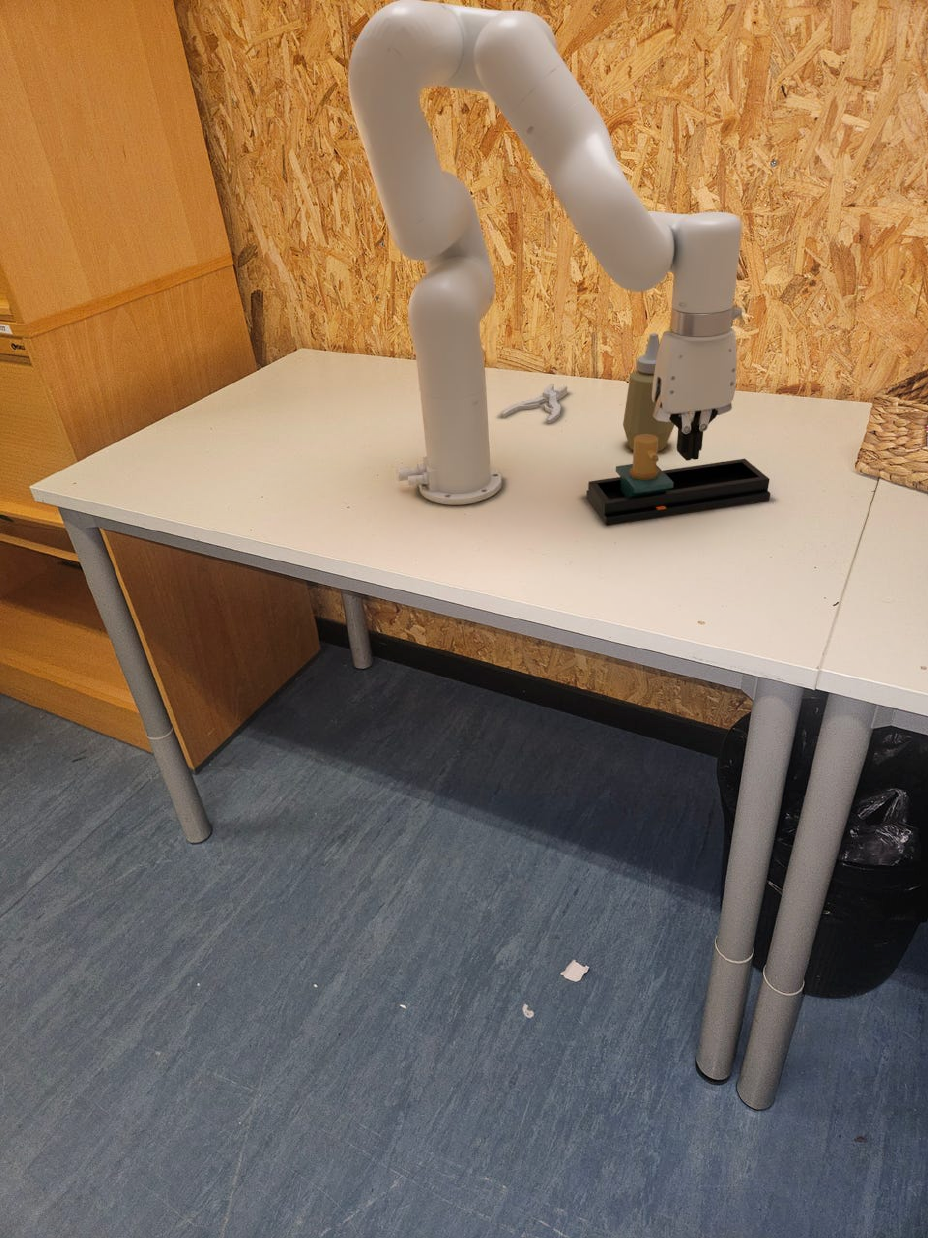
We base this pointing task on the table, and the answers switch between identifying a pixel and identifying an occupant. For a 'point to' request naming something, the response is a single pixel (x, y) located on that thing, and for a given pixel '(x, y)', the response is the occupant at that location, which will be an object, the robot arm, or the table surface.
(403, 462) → the table surface
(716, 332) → the robot arm
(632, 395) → the squeeze bottle
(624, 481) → the nozzle
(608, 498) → the black rectangular tray
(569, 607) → the table surface
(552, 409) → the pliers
